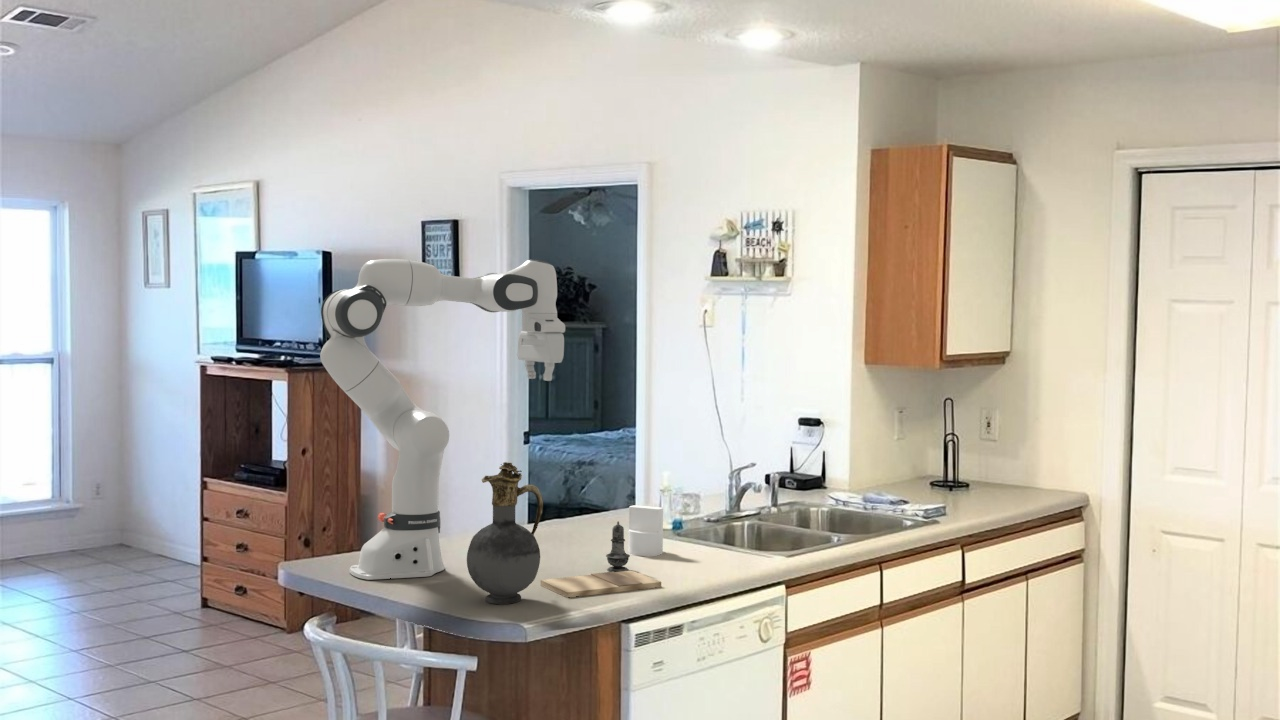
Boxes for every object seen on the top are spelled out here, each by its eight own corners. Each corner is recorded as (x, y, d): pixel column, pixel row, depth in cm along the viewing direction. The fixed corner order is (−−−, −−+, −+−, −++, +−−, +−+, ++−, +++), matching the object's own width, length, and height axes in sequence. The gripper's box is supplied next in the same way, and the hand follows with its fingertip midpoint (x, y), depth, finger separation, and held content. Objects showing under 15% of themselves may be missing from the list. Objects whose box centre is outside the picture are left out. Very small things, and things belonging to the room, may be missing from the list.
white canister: (668, 551, 328) (668, 506, 327) (654, 557, 320) (654, 511, 319) (637, 548, 332) (637, 503, 331) (622, 554, 323) (623, 508, 323)
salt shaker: (632, 568, 305) (633, 520, 305) (625, 573, 300) (626, 523, 299) (609, 566, 307) (610, 518, 306) (602, 571, 301) (603, 522, 301)
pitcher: (459, 602, 268) (460, 464, 267) (524, 588, 282) (525, 457, 281) (492, 610, 261) (493, 468, 259) (558, 596, 275) (559, 461, 274)
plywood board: (567, 597, 273) (567, 591, 273) (540, 585, 285) (540, 579, 285) (661, 587, 285) (661, 580, 285) (631, 575, 297) (631, 569, 297)
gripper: (511, 324, 320) (511, 377, 321) (545, 325, 302) (545, 382, 303) (533, 324, 323) (533, 377, 324) (568, 325, 305) (568, 381, 306)
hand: (539, 379), depth 313 cm, fingers open, 8 cm apart
